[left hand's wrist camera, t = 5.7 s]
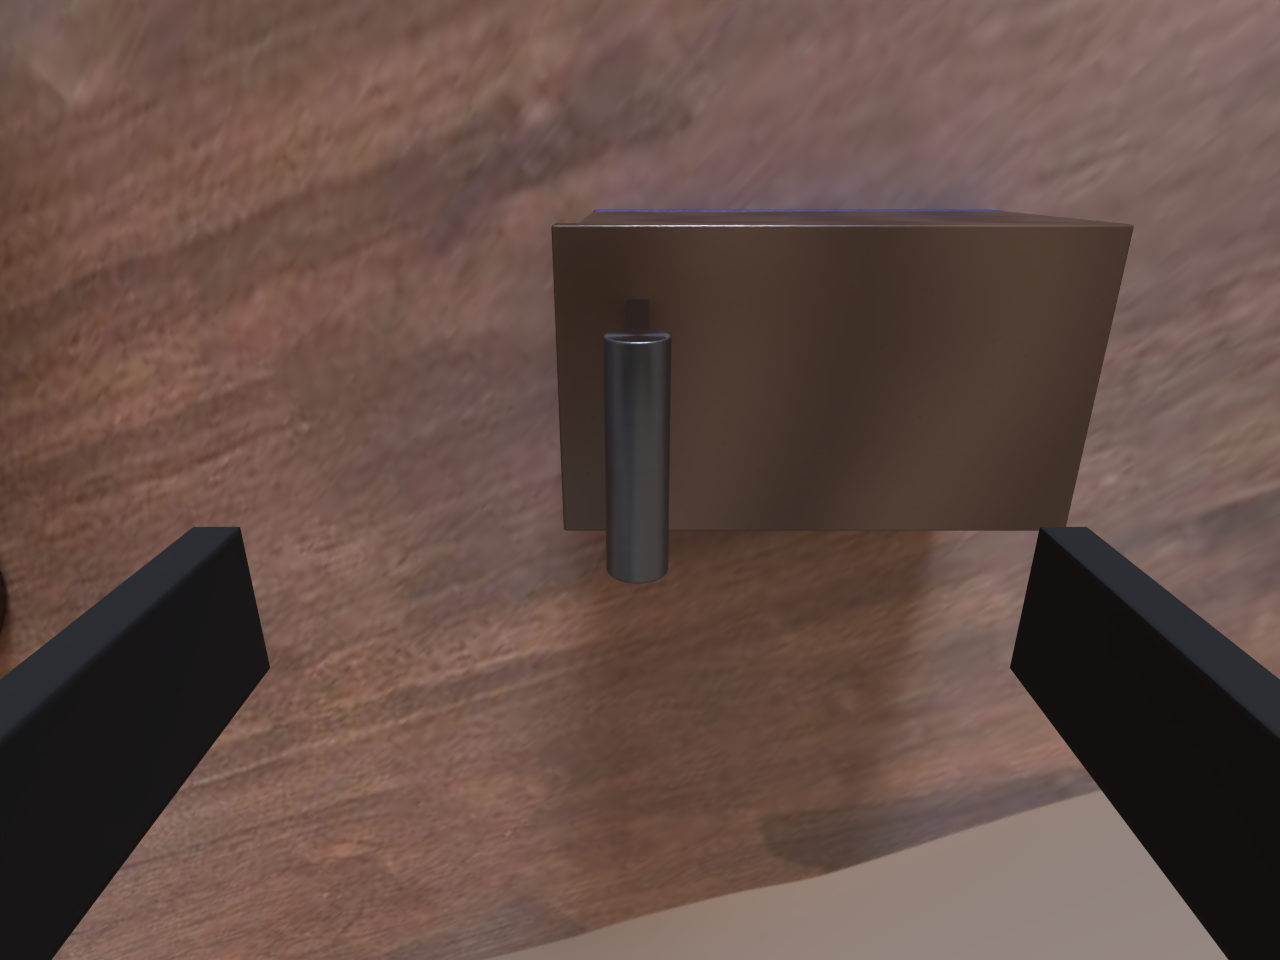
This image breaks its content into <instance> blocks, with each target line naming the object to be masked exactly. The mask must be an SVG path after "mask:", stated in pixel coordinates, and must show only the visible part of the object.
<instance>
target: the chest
mask: <svg viewBox="0 0 1280 960" xmlns="http://www.w3.org/2000/svg"><path fill="white" fill-rule="evenodd" d="M581 223H1112V222H1102V221H1092V220H1083V219H1073V218H1063V217H1054V216H1044V215H1034V214H1025V213H1015V212H1005V211H999V210H594V211H593V213H592V214H590V215H589V216H588V217H587V218H586V219H584V220H583V221H582V222H581Z"/></svg>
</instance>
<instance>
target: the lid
mask: <svg viewBox="0 0 1280 960" xmlns="http://www.w3.org/2000/svg"><path fill="white" fill-rule="evenodd" d="M1133 228H1134V227H1133V225H1130V224H1121V223H556V224H554V225H552V250H553V275H554V299H555V323H556V348H557V372H558V397H559V421H560V446H561V470H562V494H563V519H564V529H565V530H606V548H607V571H608V573H609V574H610V575H611V576H612V577H613V578H615V579H617V580H619V581H623V582H627V583H648V582H652V581H655V580H658V579H660V578H662V577H663V576H664V575H665V574H666V573H667V570H668V543H669V530H1002V531H1039V529H1040V527H1066V523H1067V519H1068V514H1069V510H1070V506H1071V501H1072V497H1073V492H1074V488H1075V484H1076V479H1077V475H1078V470H1079V466H1080V461H1081V457H1082V453H1083V448H1084V444H1085V439H1086V435H1087V431H1088V426H1089V422H1090V417H1091V413H1092V408H1093V404H1094V400H1095V395H1096V391H1097V386H1098V382H1099V378H1100V373H1101V369H1102V364H1103V360H1104V356H1105V351H1106V347H1107V342H1108V338H1109V333H1110V329H1111V325H1112V320H1113V316H1114V311H1115V307H1116V303H1117V298H1118V294H1119V289H1120V285H1121V281H1122V276H1123V272H1124V267H1125V263H1126V258H1127V254H1128V250H1129V245H1130V241H1131V236H1132V232H1133Z"/></svg>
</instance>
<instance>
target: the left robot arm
mask: <svg viewBox="0 0 1280 960" xmlns="http://www.w3.org/2000/svg"><path fill="white" fill-rule="evenodd" d="M4 609H5V597H4V587H3V582H2V577H1V573H0V630H1V627H2V623H3V618H4ZM269 669H270V665H269V661H268V656H267V651H266V647H265V642H264V637H263V633H262V628H261V623H260V618H259V614H258V609H257V604H256V600H255V595H254V590H253V586H252V581H251V576H250V572H249V567H248V562H247V558H246V553H245V548H244V543H243V539H242V534H241V529H240V527H193V528H192V529H190V530H189V531H188V532H186V533H185V534H184V535H183V536H181V537H180V538H179V539H178V540H176V541H175V542H174V543H173V544H171V545H170V546H169V547H167V548H166V549H165V550H164V551H162V552H161V553H160V554H159V555H157V556H156V557H155V558H154V559H152V560H151V561H150V562H149V563H147V564H146V565H145V566H143V567H142V568H141V569H140V570H138V571H137V572H136V573H135V574H133V575H132V576H131V577H130V578H128V579H127V580H126V581H124V582H123V583H122V584H121V585H119V586H118V587H117V588H116V589H114V590H113V591H112V592H111V593H109V594H108V595H107V596H106V597H104V598H103V599H102V600H100V601H99V602H98V603H97V604H95V605H94V606H93V607H92V608H90V609H89V610H88V611H87V612H85V613H84V614H83V615H81V616H80V617H79V618H78V619H76V620H75V621H74V622H73V623H71V624H70V625H69V626H68V627H66V628H65V629H64V630H62V631H61V632H60V633H59V634H57V635H56V636H55V637H54V638H52V639H51V640H50V641H49V642H47V643H46V644H45V645H44V646H42V647H41V648H40V649H38V650H37V651H36V652H35V653H33V654H32V655H31V656H30V657H28V658H27V659H26V660H25V661H23V662H22V663H21V664H19V665H18V666H17V667H16V668H14V669H13V670H12V671H11V672H9V673H8V674H7V675H6V676H4V677H3V678H2V679H1V680H0V960H52V958H53V957H54V956H55V954H56V953H57V952H58V950H59V949H60V948H61V946H62V945H63V944H64V942H65V941H66V940H67V938H68V937H69V936H70V934H71V933H72V932H73V930H74V929H75V928H76V926H77V925H78V924H79V922H80V921H81V920H82V918H83V917H84V916H85V914H86V913H87V912H88V910H89V909H90V908H91V906H92V905H93V904H94V902H95V901H96V900H97V898H98V897H99V896H100V894H101V893H102V892H103V890H104V889H105V888H106V886H107V885H108V884H109V882H110V881H111V880H112V878H113V877H114V876H115V874H116V873H117V872H118V870H119V869H120V868H121V866H122V865H123V864H124V862H125V861H126V860H127V858H128V857H129V856H130V854H131V853H132V852H133V850H134V849H135V848H136V846H137V845H138V844H139V842H140V841H141V840H142V838H143V837H144V836H145V834H146V833H147V832H148V830H149V829H150V828H151V826H152V825H153V823H154V822H155V821H156V819H157V818H158V817H159V815H160V814H161V813H162V811H163V810H164V809H165V807H166V806H167V805H168V803H169V802H170V801H171V799H172V798H173V797H174V795H175V794H176V793H177V791H178V790H179V789H180V787H181V786H182V785H183V783H184V782H185V781H186V779H187V778H188V777H189V775H190V774H191V773H192V771H193V770H194V769H195V767H196V766H197V765H198V763H199V762H200V761H201V759H202V758H203V757H204V755H205V754H206V753H207V751H208V750H209V749H210V747H211V746H212V745H213V743H214V742H215V741H216V739H217V738H218V737H219V735H220V734H221V733H222V731H223V730H224V729H225V727H226V726H227V725H228V723H229V722H230V721H231V719H232V718H233V717H234V715H235V714H236V713H237V711H238V710H239V709H240V707H241V706H242V705H243V703H244V702H245V701H246V699H247V698H248V697H249V695H250V694H251V693H252V691H253V690H254V689H255V687H256V686H257V685H258V683H259V682H260V681H261V679H262V678H263V677H264V675H265V674H266V673H267V671H268V670H269ZM1010 669H1011V670H1012V671H1013V673H1014V674H1015V675H1016V677H1017V678H1018V679H1019V681H1020V682H1021V683H1022V685H1023V686H1024V687H1025V689H1026V690H1027V691H1028V693H1029V694H1030V695H1031V697H1032V698H1033V699H1034V701H1035V702H1036V703H1037V705H1038V706H1039V707H1040V709H1041V710H1042V711H1043V713H1044V714H1045V715H1046V717H1047V718H1048V719H1049V721H1050V722H1051V723H1052V725H1053V726H1054V727H1055V729H1056V730H1057V731H1058V733H1059V734H1060V735H1061V737H1062V738H1063V739H1064V741H1065V742H1066V743H1067V745H1068V746H1069V747H1070V749H1071V750H1072V751H1073V753H1074V754H1075V755H1076V757H1077V758H1078V759H1079V761H1080V762H1081V763H1082V765H1083V766H1084V767H1085V769H1086V770H1087V771H1088V773H1089V774H1090V775H1091V777H1092V778H1093V779H1094V781H1095V782H1096V783H1097V785H1098V786H1099V787H1100V789H1101V790H1102V791H1103V793H1104V794H1105V795H1106V797H1107V798H1108V799H1109V801H1110V802H1111V803H1112V805H1113V806H1114V807H1115V809H1116V810H1117V811H1118V813H1119V814H1120V815H1121V817H1122V818H1123V819H1124V821H1125V822H1126V823H1127V825H1128V826H1129V828H1130V829H1131V830H1132V831H1133V833H1134V834H1135V835H1136V837H1137V838H1138V840H1139V841H1140V842H1141V844H1142V845H1143V846H1144V848H1145V849H1146V850H1147V852H1148V853H1149V854H1150V856H1151V857H1152V858H1153V860H1154V861H1155V862H1156V864H1157V865H1158V866H1159V868H1160V869H1161V870H1162V871H1163V873H1164V874H1165V876H1166V877H1167V878H1168V880H1169V881H1170V882H1171V884H1172V885H1173V886H1174V888H1175V889H1176V890H1177V891H1178V893H1179V894H1180V896H1181V897H1182V898H1183V900H1184V901H1185V902H1186V904H1187V905H1188V906H1189V908H1190V909H1191V910H1192V911H1193V913H1194V914H1195V916H1196V917H1197V918H1198V920H1199V921H1200V922H1201V924H1202V925H1203V926H1204V928H1205V929H1206V930H1207V932H1208V933H1209V934H1210V936H1211V937H1212V938H1213V940H1214V941H1215V942H1216V944H1217V945H1218V946H1219V948H1220V949H1221V950H1222V952H1223V953H1224V954H1225V956H1226V957H1227V958H1228V960H1280V680H1279V679H1278V678H1277V677H1276V676H1274V675H1273V674H1272V673H1271V672H1269V671H1268V670H1267V669H1266V668H1264V667H1263V666H1262V665H1261V664H1259V663H1258V662H1257V661H1255V660H1254V659H1253V658H1252V657H1250V656H1249V655H1248V654H1247V653H1245V652H1244V651H1243V650H1242V649H1240V648H1239V647H1238V646H1236V645H1235V644H1234V643H1233V642H1231V641H1230V640H1229V639H1228V638H1226V637H1225V636H1224V635H1223V634H1221V633H1220V632H1219V631H1218V630H1216V629H1215V628H1214V627H1212V626H1211V625H1210V624H1209V623H1207V622H1206V621H1205V620H1204V619H1202V618H1201V617H1200V616H1199V615H1197V614H1196V613H1195V612H1193V611H1192V610H1191V609H1190V608H1188V607H1187V606H1186V605H1185V604H1183V603H1182V602H1181V601H1180V600H1178V599H1177V598H1176V597H1174V596H1173V595H1172V594H1171V593H1169V592H1168V591H1167V590H1166V589H1164V588H1163V587H1162V586H1161V585H1159V584H1158V583H1157V582H1156V581H1154V580H1153V579H1152V578H1150V577H1149V576H1148V575H1147V574H1145V573H1144V572H1143V571H1142V570H1140V569H1139V568H1138V567H1137V566H1135V565H1134V564H1133V563H1131V562H1130V561H1129V560H1128V559H1126V558H1125V557H1124V556H1123V555H1121V554H1120V553H1119V552H1118V551H1116V550H1115V549H1114V548H1113V547H1111V546H1110V545H1109V544H1107V543H1106V542H1105V541H1104V540H1102V539H1101V538H1100V537H1099V536H1097V535H1096V534H1095V533H1094V532H1092V531H1091V530H1090V529H1088V528H1087V527H1040V529H1039V534H1038V539H1037V543H1036V548H1035V553H1034V558H1033V562H1032V567H1031V572H1030V576H1029V581H1028V586H1027V590H1026V595H1025V600H1024V604H1023V609H1022V614H1021V618H1020V623H1019V628H1018V633H1017V637H1016V642H1015V647H1014V651H1013V656H1012V661H1011V665H1010Z"/></svg>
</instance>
